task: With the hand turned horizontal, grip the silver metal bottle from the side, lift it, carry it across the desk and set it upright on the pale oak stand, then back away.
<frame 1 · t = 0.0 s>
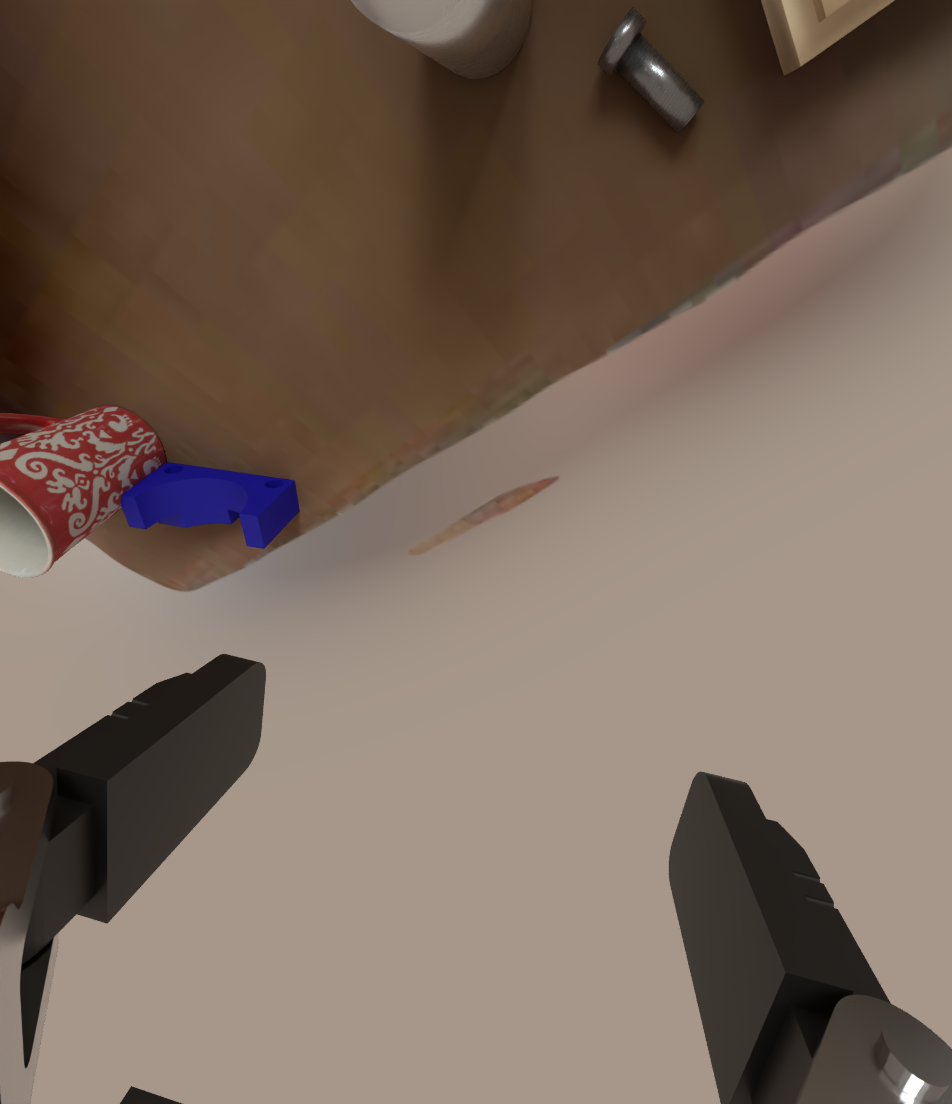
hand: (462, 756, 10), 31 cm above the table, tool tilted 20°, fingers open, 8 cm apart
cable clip: (236, 493, 48), on the table, touching mug
bolt a: (658, 87, 28), on the table
silver metal bottle: (476, 5, 27), on the table
mug: (112, 430, 47), on the table, touching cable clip
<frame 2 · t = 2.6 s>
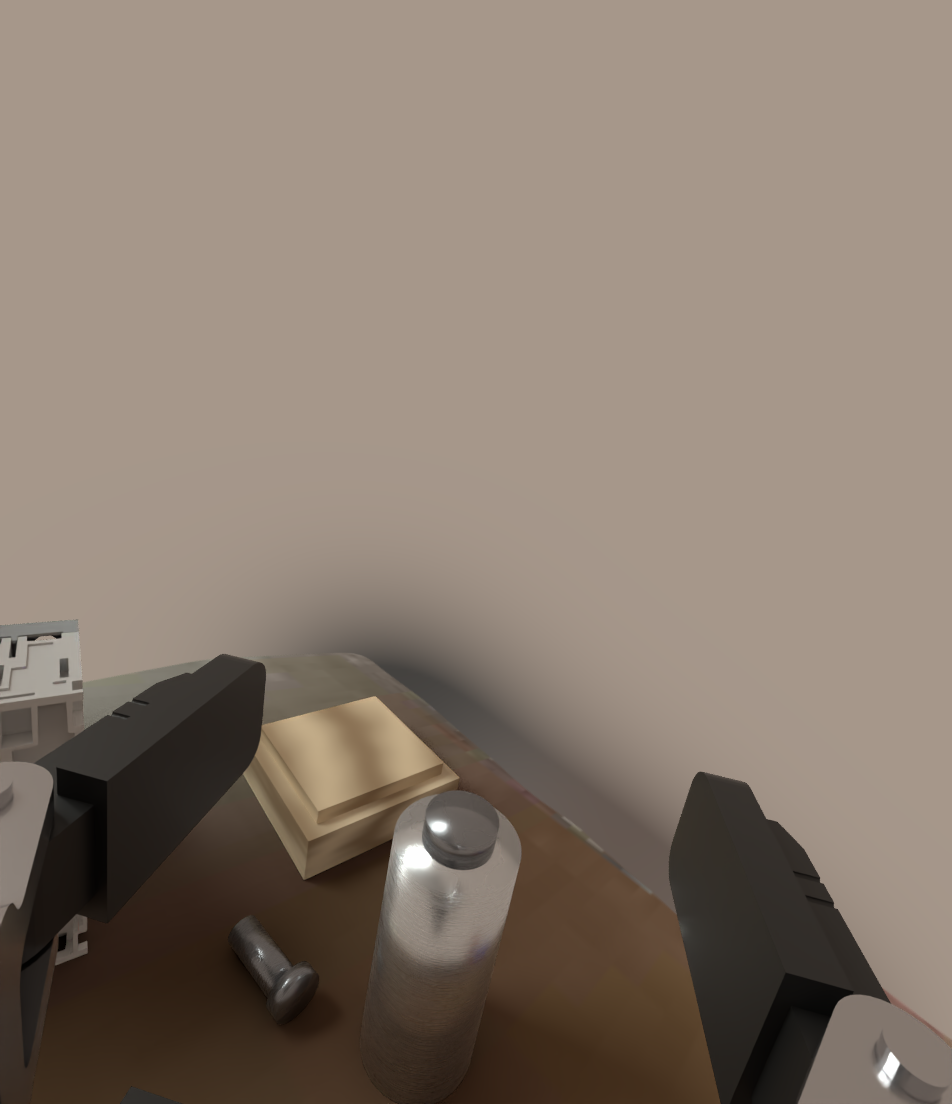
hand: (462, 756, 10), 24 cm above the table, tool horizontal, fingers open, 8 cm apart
stand: (345, 788, 42), on the table
circuit breaker: (1, 877, 31), on the table
silver metal bottle: (417, 1035, 27), on the table
bolt b: (263, 971, 28), on the table
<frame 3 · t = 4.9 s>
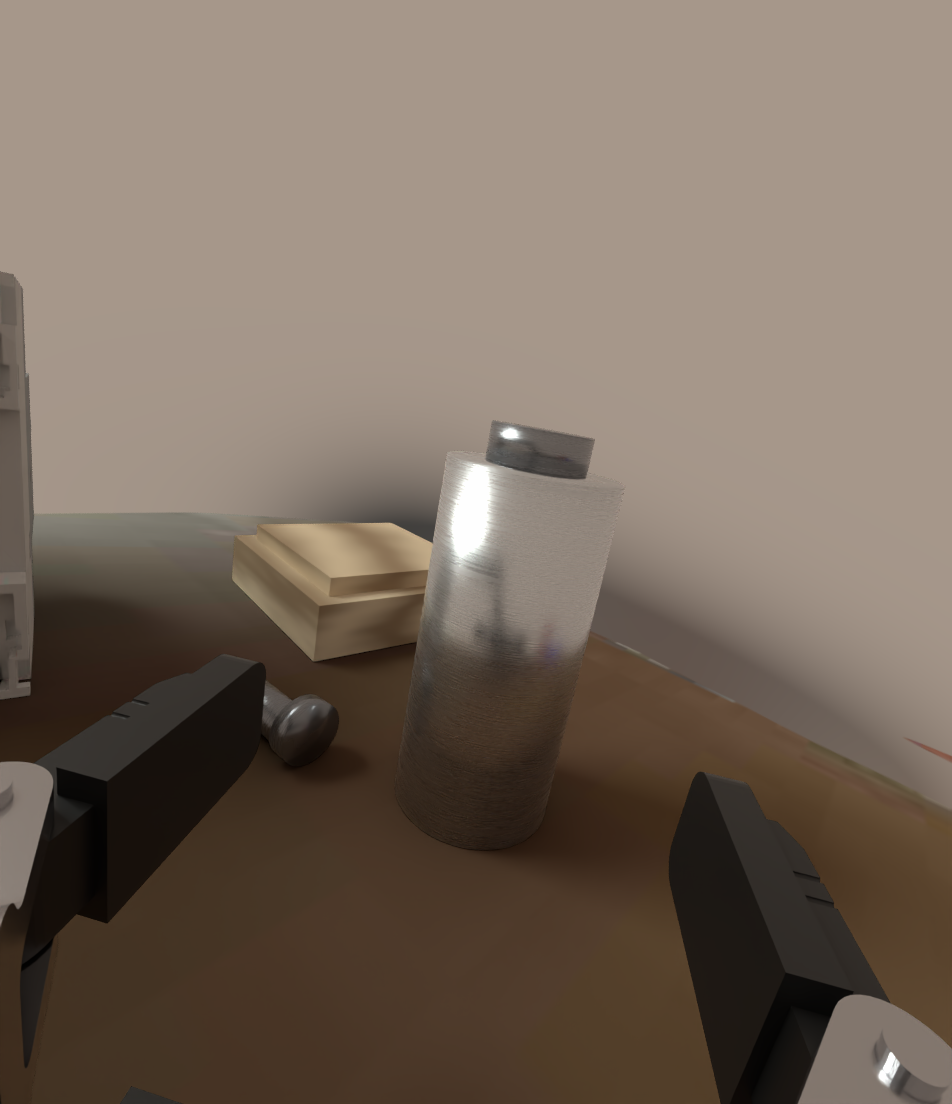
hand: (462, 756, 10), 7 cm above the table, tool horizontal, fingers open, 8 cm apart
stand: (359, 603, 35), on the table
silver metal bottle: (470, 789, 20), on the table
bolt b: (263, 724, 22), on the table
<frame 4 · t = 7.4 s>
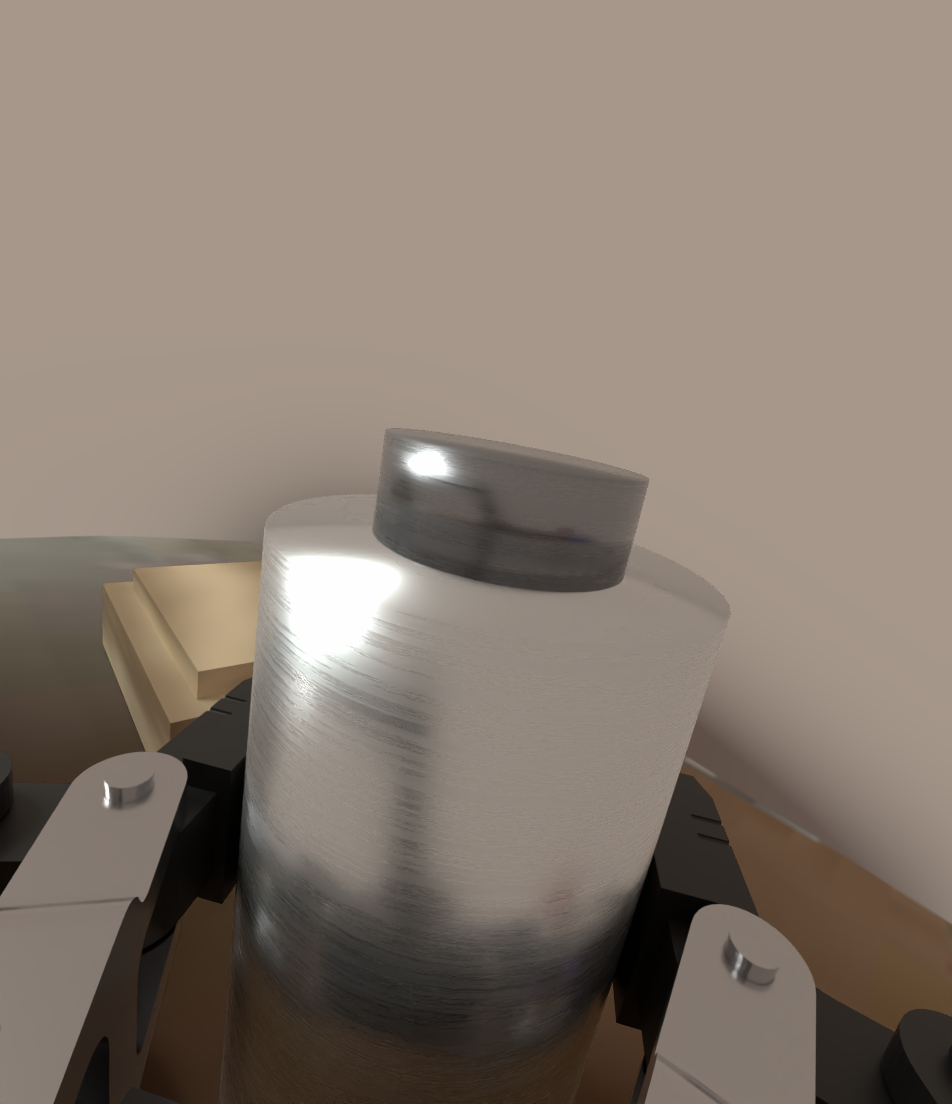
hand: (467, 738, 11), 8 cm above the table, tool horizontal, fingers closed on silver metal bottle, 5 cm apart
stand: (279, 678, 25), on the table
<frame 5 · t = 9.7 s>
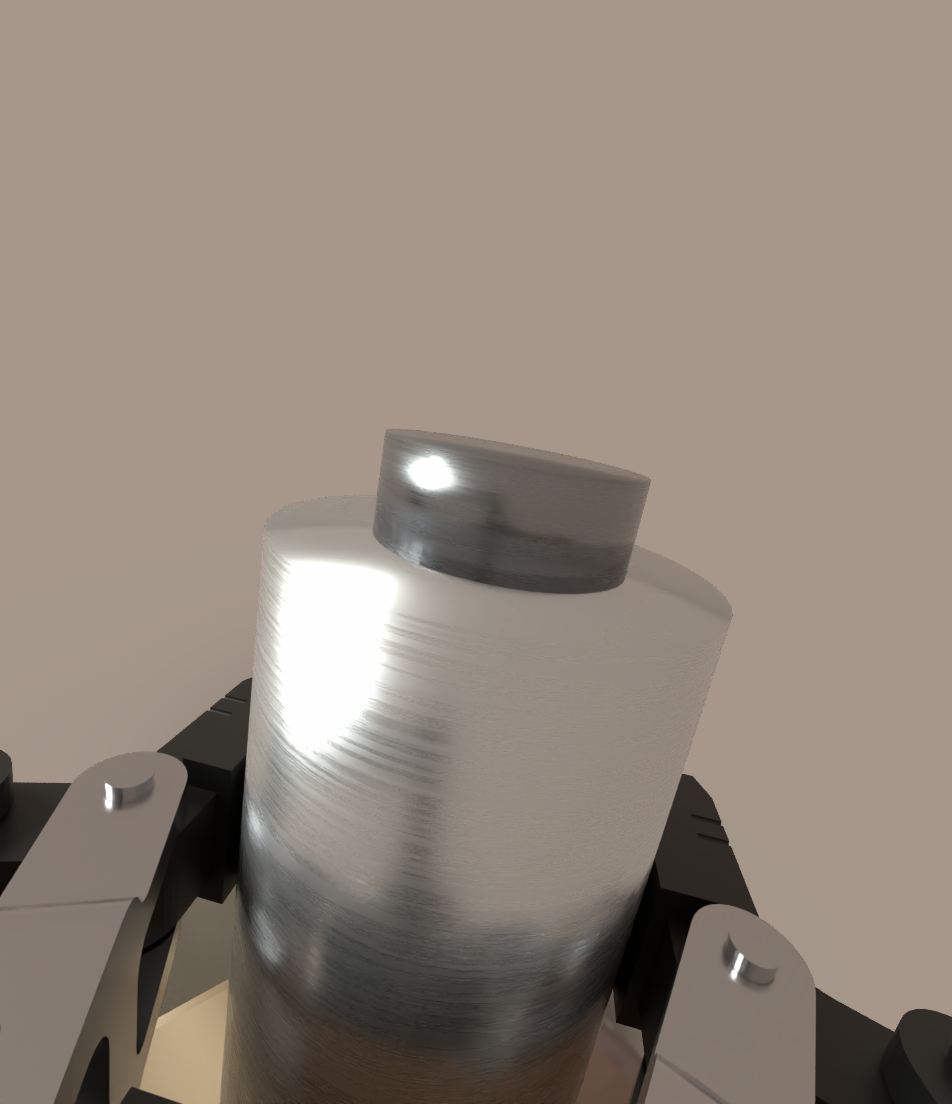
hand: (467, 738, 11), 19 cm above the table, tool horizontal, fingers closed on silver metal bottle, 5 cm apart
when the fingers open (12 cm above the table, at t = 12.1 s): silver metal bottle stays where it is, resting on stand.
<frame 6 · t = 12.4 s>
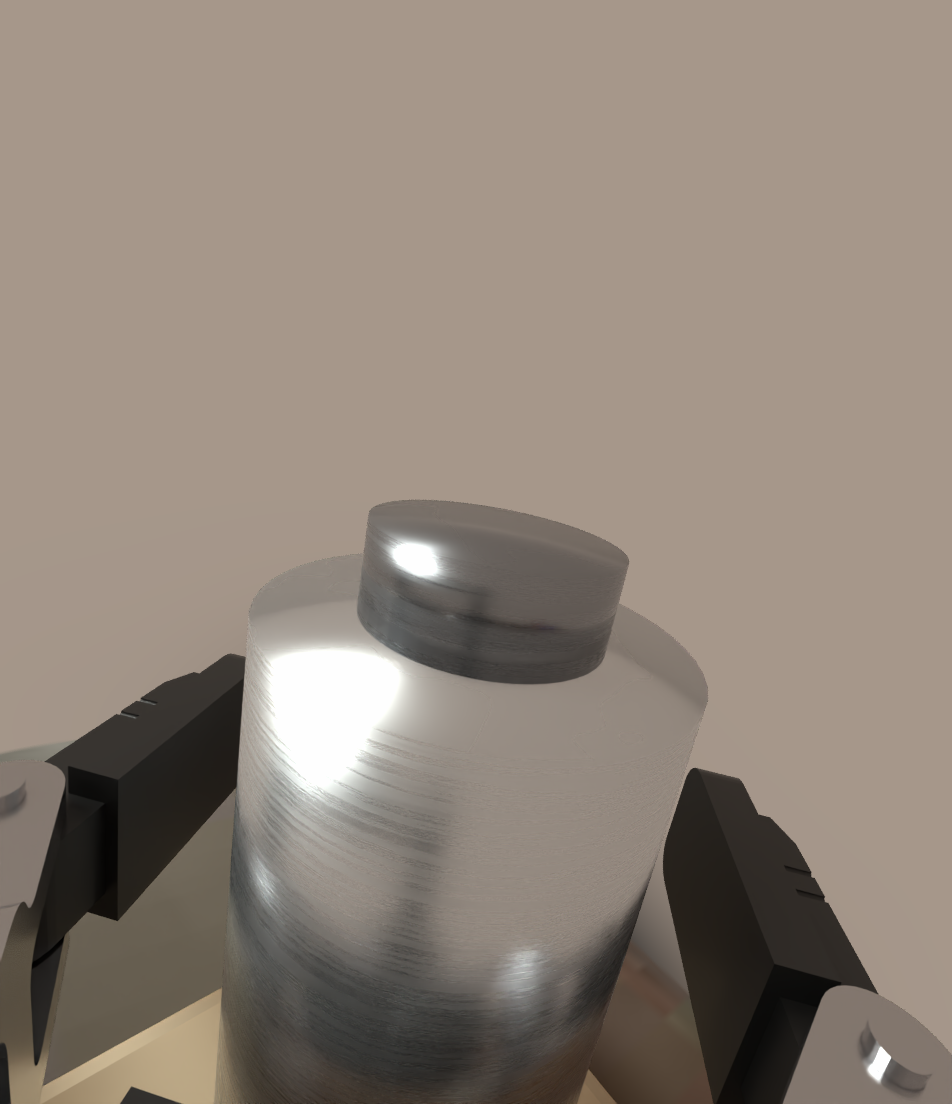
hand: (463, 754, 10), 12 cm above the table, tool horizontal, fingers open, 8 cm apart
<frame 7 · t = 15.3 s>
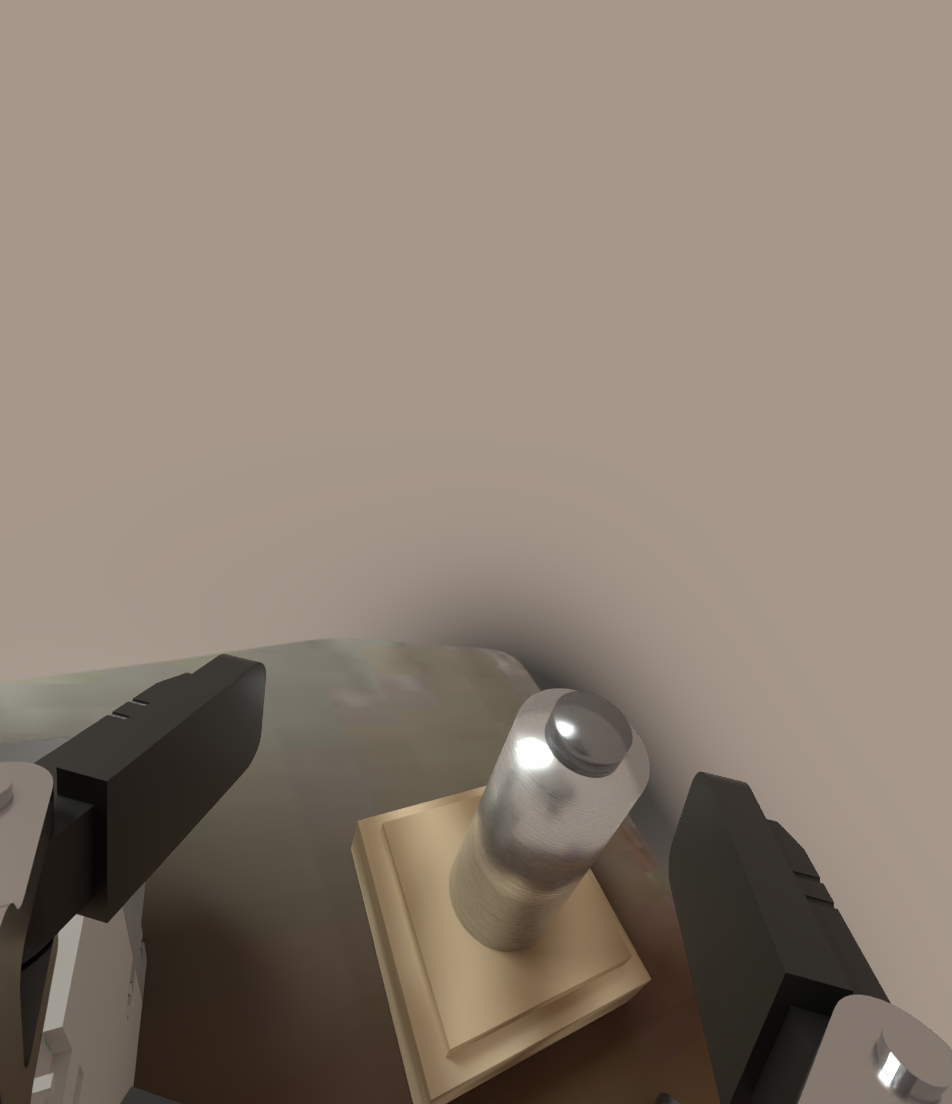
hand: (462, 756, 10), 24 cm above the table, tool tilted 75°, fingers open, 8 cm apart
stand: (482, 921, 30), on the table
circuit breaker: (43, 1014, 23), on the table
silver metal bottle: (501, 888, 28), point 4 cm above the table, touching stand
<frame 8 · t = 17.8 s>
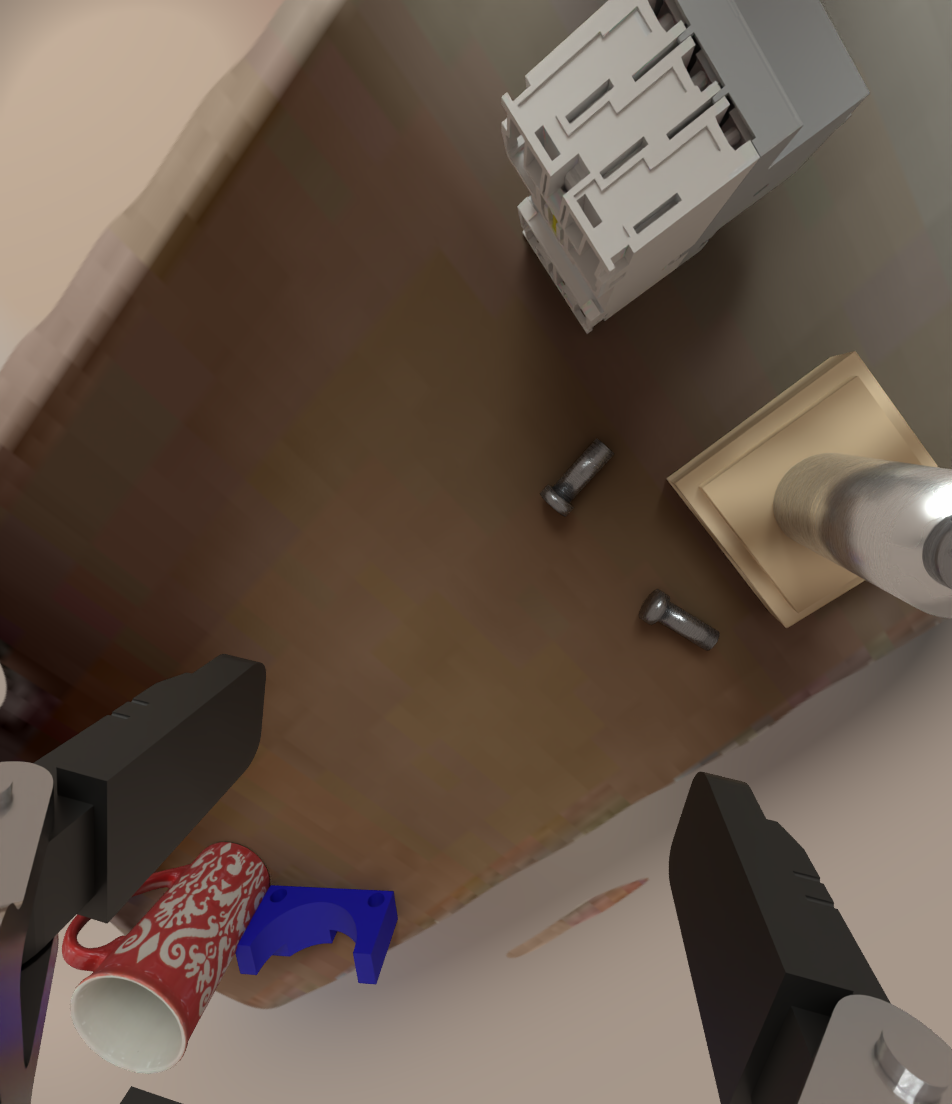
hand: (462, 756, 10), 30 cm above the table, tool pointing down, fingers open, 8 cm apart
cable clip: (335, 906, 51), on the table, touching mug
stand: (798, 492, 36), on the table
circuit breaker: (652, 209, 34), on the table
bolt a: (682, 620, 39), on the table
silver metal bottle: (824, 500, 32), point 4 cm above the table, touching stand
mug: (220, 861, 51), on the table, touching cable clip
bolt b: (582, 469, 38), on the table
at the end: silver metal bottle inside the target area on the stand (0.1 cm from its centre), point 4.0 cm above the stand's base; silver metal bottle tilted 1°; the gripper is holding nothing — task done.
